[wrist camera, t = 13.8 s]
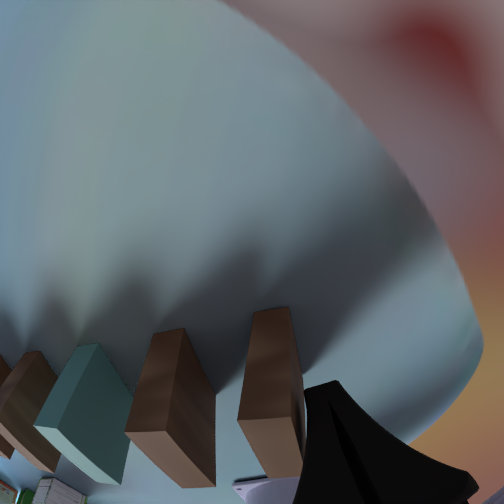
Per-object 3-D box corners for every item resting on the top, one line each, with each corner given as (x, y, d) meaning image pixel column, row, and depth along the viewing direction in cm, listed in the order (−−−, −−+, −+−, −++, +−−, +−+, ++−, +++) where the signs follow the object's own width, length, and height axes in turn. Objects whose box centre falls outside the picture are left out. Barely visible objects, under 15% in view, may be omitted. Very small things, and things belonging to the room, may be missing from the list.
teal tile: (118, 405, 15) (96, 481, 9) (77, 345, 13) (33, 425, 7) (139, 404, 15) (120, 485, 9) (98, 342, 13) (56, 428, 7)
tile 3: (40, 350, 13) (-4, 418, 7) (80, 406, 15) (54, 473, 9) (25, 352, 13) (-17, 414, 7) (64, 406, 15) (38, 468, 9)
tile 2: (184, 328, 13) (165, 430, 7) (215, 395, 15) (215, 486, 9) (154, 333, 13) (123, 432, 7) (189, 399, 15) (182, 488, 9)
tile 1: (288, 306, 13) (290, 416, 7) (303, 379, 14) (306, 475, 9) (254, 312, 13) (236, 420, 7) (274, 383, 15) (268, 478, 9)
